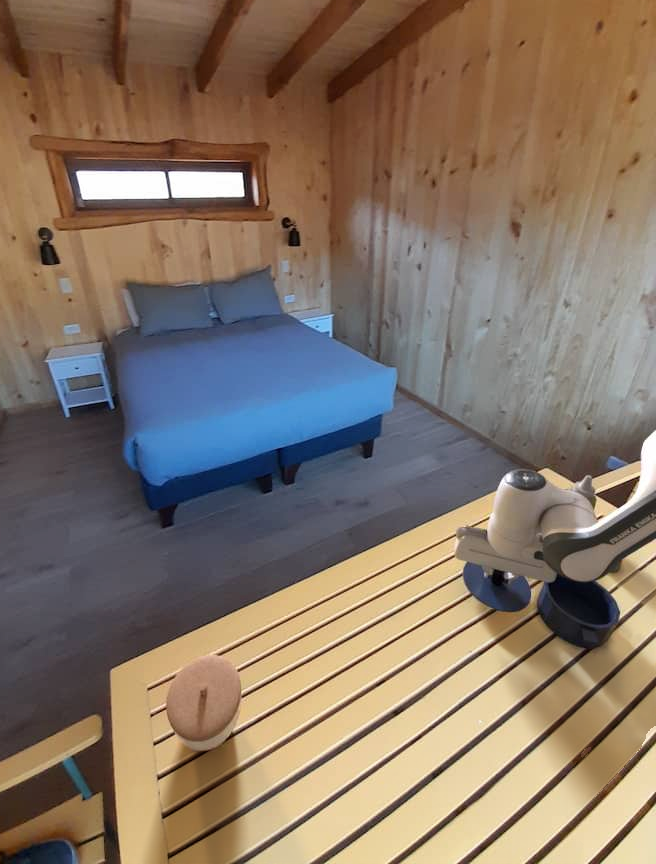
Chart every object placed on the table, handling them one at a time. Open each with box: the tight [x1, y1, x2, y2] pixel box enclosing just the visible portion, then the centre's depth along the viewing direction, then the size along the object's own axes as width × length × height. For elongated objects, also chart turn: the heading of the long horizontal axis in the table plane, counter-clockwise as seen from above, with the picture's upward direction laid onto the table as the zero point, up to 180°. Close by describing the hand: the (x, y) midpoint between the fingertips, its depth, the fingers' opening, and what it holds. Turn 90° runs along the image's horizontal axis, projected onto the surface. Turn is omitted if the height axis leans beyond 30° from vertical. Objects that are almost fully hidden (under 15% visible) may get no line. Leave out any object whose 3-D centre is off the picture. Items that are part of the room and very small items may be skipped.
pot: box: [536, 573, 621, 650], centre depth 87 cm, size 13×19×7 cm
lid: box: [462, 562, 532, 613], centre depth 92 cm, size 14×14×5 cm
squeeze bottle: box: [567, 474, 598, 510], centre depth 107 cm, size 8×8×18 cm
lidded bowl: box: [165, 654, 242, 752], centre depth 70 cm, size 13×13×11 cm
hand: (497, 579), depth 92 cm, fingers closed on lid, 2 cm apart
